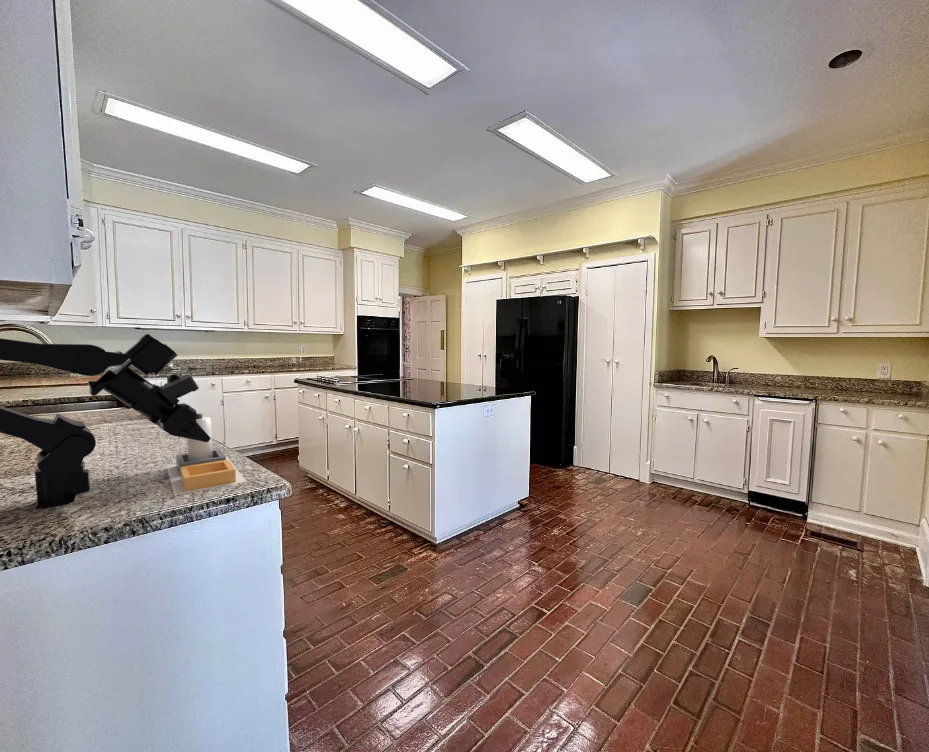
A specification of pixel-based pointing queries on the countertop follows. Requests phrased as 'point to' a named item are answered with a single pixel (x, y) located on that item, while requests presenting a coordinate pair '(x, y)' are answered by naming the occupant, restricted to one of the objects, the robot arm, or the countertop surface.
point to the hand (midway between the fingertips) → (202, 436)
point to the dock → (202, 473)
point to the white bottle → (200, 448)
